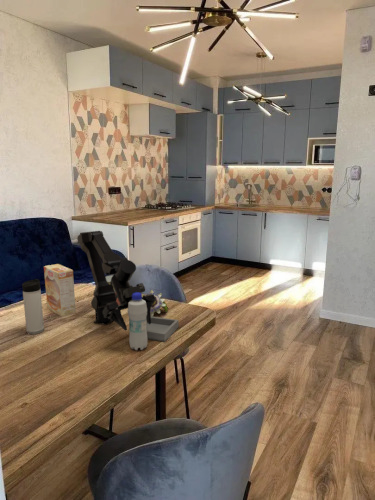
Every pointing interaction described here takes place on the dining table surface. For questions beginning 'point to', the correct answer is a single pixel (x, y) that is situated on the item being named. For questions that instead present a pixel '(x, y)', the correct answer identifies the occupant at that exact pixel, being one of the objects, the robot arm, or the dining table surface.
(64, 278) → the coffeecake box
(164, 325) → the open box
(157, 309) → the passion flower
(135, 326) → the bottle
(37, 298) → the travel mug
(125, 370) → the dining table surface
